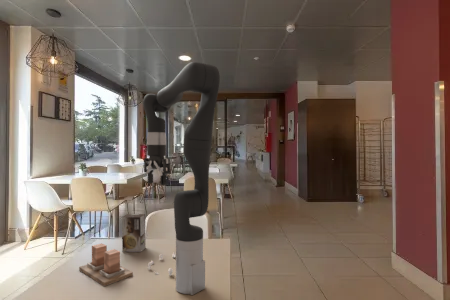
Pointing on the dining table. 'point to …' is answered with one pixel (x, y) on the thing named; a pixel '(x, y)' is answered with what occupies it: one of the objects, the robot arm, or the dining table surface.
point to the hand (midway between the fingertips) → (156, 183)
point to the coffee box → (133, 232)
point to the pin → (111, 261)
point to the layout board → (102, 267)
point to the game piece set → (162, 259)
